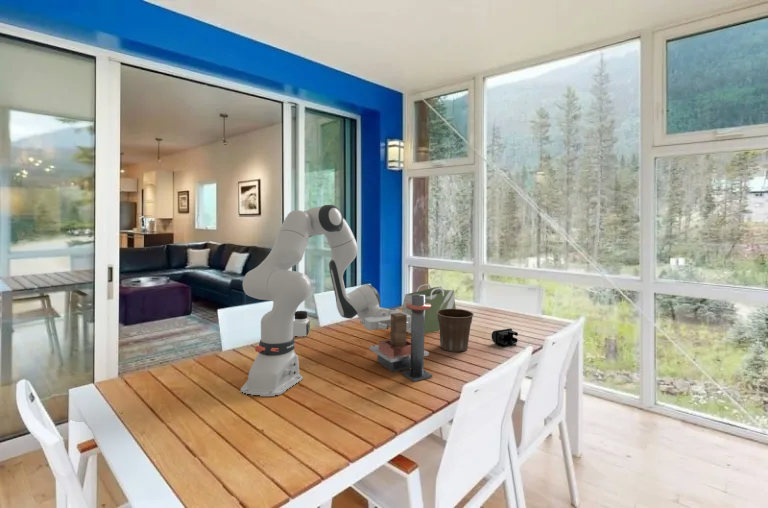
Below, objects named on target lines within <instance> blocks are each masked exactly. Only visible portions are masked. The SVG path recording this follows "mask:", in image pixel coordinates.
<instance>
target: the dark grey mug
mask: <svg viewBox="0 0 768 508" xmlns="http://www.w3.org/2000/svg"><path fill="white" fill-rule="evenodd" d="M518 335H519V333H518V332H517V331H514V330H513V328H504V329H498V330H493V331H492V332H491V340H492V342H493V343H494V344H495V346H497V345H499V346H498V347H500V346H501V347H500V348H507V346H508V347H513V346H512V345H514V346H517V345H518V344H517V343H518V340H519V339H518V338H517V337H518ZM514 336H515V337H514ZM516 344H517V345H516Z"/></svg>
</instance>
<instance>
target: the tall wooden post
mask: <svg viewBox="0 0 768 508" xmlns="http://www.w3.org/2000/svg"><path fill="white" fill-rule="evenodd" d="M406 323H407V315H406V314H403V313H392V314H391V327H390V335H389V336H390V345H391V346H393V347H395V348H396V347H402V346H406V339H407V333H406Z"/></svg>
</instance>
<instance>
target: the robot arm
mask: <svg viewBox="0 0 768 508" xmlns="http://www.w3.org/2000/svg"><path fill="white" fill-rule="evenodd" d="M321 235H322V236H323V235H324V236H325V237H326V239H327V243H328V246H329V248H330V251H331V260H330V261H329V262H328V268H329V274H330V279H331V283H332V288H333V292H334V296H335V304H336V310H337V311H338V314H339V315H340V316H341V317H342V318H345V319H348V320H349V319H353V318H354V317H356V316H357V317H358V318H359V319H360V321H359V323H360V324H361V325H363V328H364V329H366V330H368V331H373V330H376V331H377V330H385V331H386V330H389V328H390V329H391V314H392V313H403V312H402V311H400V309H397V308H385V307H380V305H381V297H380V293H379V292H378V290H377V289H376V288H375V286H373V285H371V284H368V283H364V284H363V285H361V286H359V287H357V288H356V289H354V290H352V291H350V292H348V293H347V290H346V286H345V282H344V274H345V271H346V269H347V268H348V267H349V266H350V265H351V263H352V262H354V260H355V259H356V257H357V255H358V252H359V251H358V250H359V247H358V243H357V240H356V237H355V235H354V233H353V231H352V229H351V227H350V225H349V224H348V222H347V220H346V219H345V218H344V216H343V214H342V212H341V210H340V209H339V208H338V207H337V206H336V205H334V204H324V205H321V206H317V207H312V208H309V209H307V210H305V211H303V210H298V209H296V210H292V211H290V212H289V213H288V214H287V216H285V218H284V220H283V222H282V224H281V227H280V229H279V231H278V234H277V236H276V239H275V242H273V243H274V244H273V247H272V248H271V250H270V252H269V253H268V255H267V256H266V257H265V258H264V260H263V261H261V262H260V264H259V265H257V266H256V267H255V268H253V269H251V270H249V271H248V272H246V273H245V275H244V277H243V279H242V290H243V292H244V294H246V295H247V296H248V297H250V298H253V299H257V300H262V301H269V302H270V301H271V302H272V309H271V310H270V311H268V312H267V313H264V315H263V316H262V317H261V320H260V340H259V343H258V345H256V346H255V348H254V351H255V352H256V353H257V352H258V353H257V356H256V357H255V359H254V362H253V363H252V365H251V367H250V369H249V371H248V375H247V376H248V377H247V378H248V379H247V380H246V382H245V383H244V384H243V386H241V388H240V393H242V392H243V393H242V394H244V393H246V394H245V395H247V394H251V395H250V396H253V395H260V396H259V397H276V396H275V395H278V396H281V395H282V394H283V393H285V392H287V391H288V390H290V389H291V388H292V386H293V385H294V386H295V384H296V383H297V384H298V382H299V381H300V382H301V380H302V379H303V380H304V377H303V376H302V375H301V374H300V363H299V356H298V354H296V352H295V347H296V346H295V343H296V342H295V337H293V322H294V321H295V312H296V311H298V310H297V309H298V308H299V306H300V305H301V304H302V303H303V302H304V301H305V300H307V298H308V297H309V296H310V293H311V291H312V282H311V280H310V278H309V276H308V275H307V274H305V273H302V272H299V271H295V270H289V269H291V268H292V267H294V266H296V265H298V264H299V263H300V262H301V261H302V260H303V257H304V254H305V251H306V247H307V244H308V243H309V238H311V237H315V236H321ZM403 314H406V313H403ZM406 315H407V323H406V327H407V326H409V325H410V324H411V316H410V315H408V314H406ZM303 380H302V381H303ZM300 382H299V383H300ZM297 384H296V385H297ZM294 386H293V387H294ZM290 387H291V388H290ZM289 388H290V389H289ZM287 389H288V390H287ZM286 390H287V391H286Z"/></svg>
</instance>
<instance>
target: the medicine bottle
mask: <svg viewBox="0 0 768 508" xmlns="http://www.w3.org/2000/svg"><path fill="white" fill-rule="evenodd" d="M310 322H311V321H310V319H308V311H306V310H296V312H295V315H294V321H293V336H307V335H308V333H309V331H310V327H311V325H310ZM309 334H310V333H309ZM308 336H309V335H308ZM308 336H307V337H308Z"/></svg>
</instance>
